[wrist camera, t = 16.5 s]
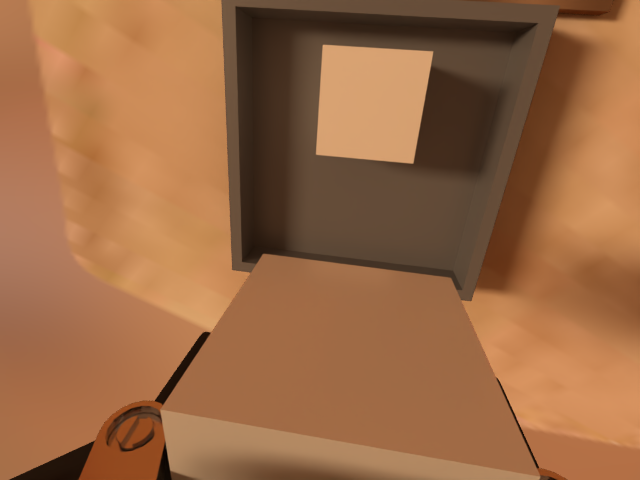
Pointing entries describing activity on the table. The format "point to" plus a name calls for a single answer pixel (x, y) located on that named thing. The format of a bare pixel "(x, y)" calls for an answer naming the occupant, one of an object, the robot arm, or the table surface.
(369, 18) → the charcoal bin
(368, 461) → the beige cube
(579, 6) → the walnut board
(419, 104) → the peach cube
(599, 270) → the table surface
